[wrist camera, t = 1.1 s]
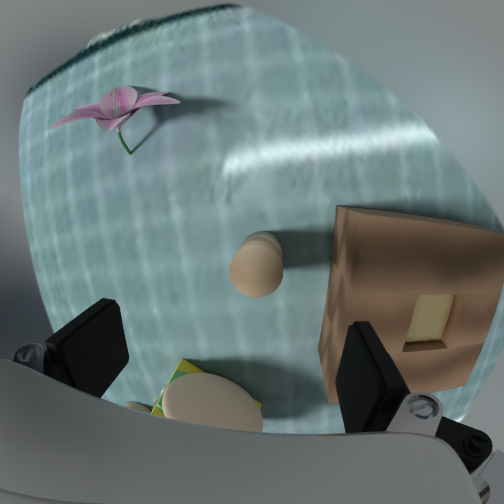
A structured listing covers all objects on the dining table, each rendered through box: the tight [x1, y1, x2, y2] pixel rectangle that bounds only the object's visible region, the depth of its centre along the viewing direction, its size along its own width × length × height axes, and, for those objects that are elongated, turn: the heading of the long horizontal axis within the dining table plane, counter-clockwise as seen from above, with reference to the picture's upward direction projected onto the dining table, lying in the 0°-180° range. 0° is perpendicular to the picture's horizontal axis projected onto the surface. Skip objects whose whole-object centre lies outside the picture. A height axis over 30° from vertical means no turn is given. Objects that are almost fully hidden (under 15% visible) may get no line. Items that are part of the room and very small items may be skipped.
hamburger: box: [151, 358, 263, 432], centre depth 26 cm, size 12×8×12 cm
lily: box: [49, 86, 180, 155], centre depth 22 cm, size 12×12×10 cm
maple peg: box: [230, 231, 283, 297], centre depth 24 cm, size 4×4×7 cm
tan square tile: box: [405, 294, 455, 342], centre depth 19 cm, size 4×4×1 cm
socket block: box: [318, 206, 504, 403], centre depth 22 cm, size 16×16×9 cm
